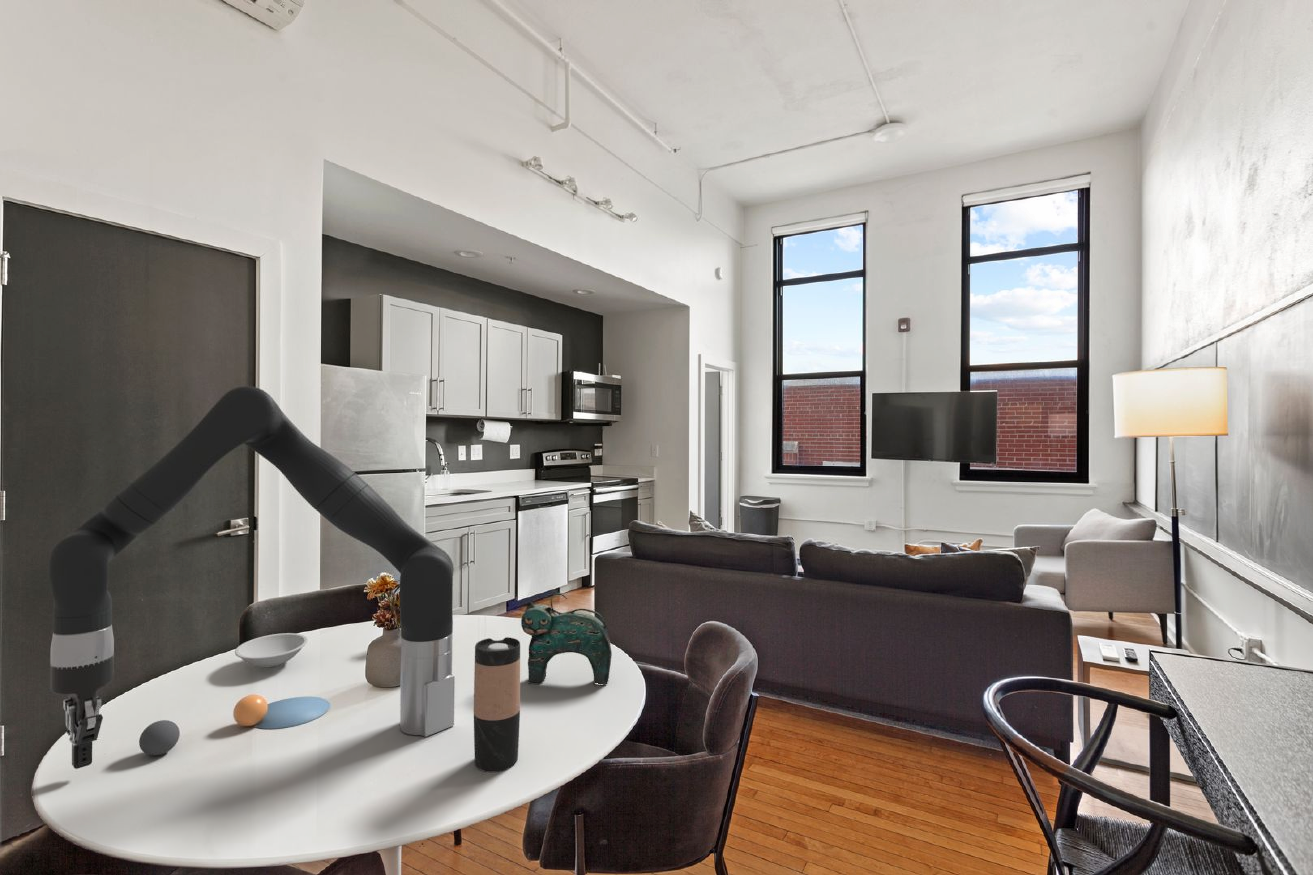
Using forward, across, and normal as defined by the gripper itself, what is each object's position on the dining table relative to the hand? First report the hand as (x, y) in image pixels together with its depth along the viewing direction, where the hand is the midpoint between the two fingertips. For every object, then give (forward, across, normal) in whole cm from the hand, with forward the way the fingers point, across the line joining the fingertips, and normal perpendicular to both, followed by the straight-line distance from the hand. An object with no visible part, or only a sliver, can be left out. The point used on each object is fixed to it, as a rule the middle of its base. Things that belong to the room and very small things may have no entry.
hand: (81, 765), depth 103 cm
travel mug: (+2, -46, -45) cm, 65 cm away
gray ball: (-1, 0, -10) cm, 10 cm away
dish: (+2, +29, -39) cm, 49 cm away
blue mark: (+2, 0, -31) cm, 31 cm away
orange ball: (-1, 0, -24) cm, 24 cm away
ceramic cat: (+2, -30, -77) cm, 83 cm away
